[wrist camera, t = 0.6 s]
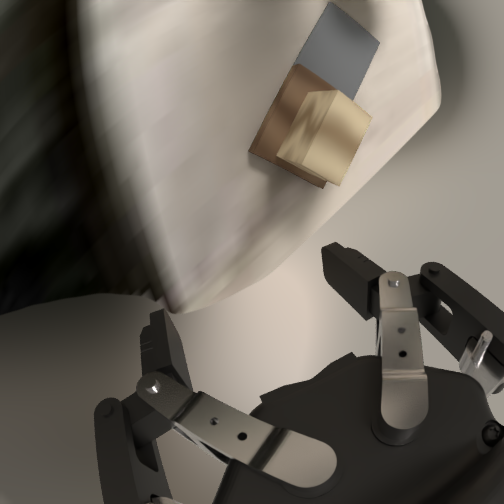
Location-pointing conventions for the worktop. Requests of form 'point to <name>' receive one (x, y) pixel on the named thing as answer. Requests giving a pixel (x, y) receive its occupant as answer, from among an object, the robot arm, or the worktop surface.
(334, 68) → the mat
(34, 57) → the worktop surface
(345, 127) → the block
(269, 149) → the brown flat slab
